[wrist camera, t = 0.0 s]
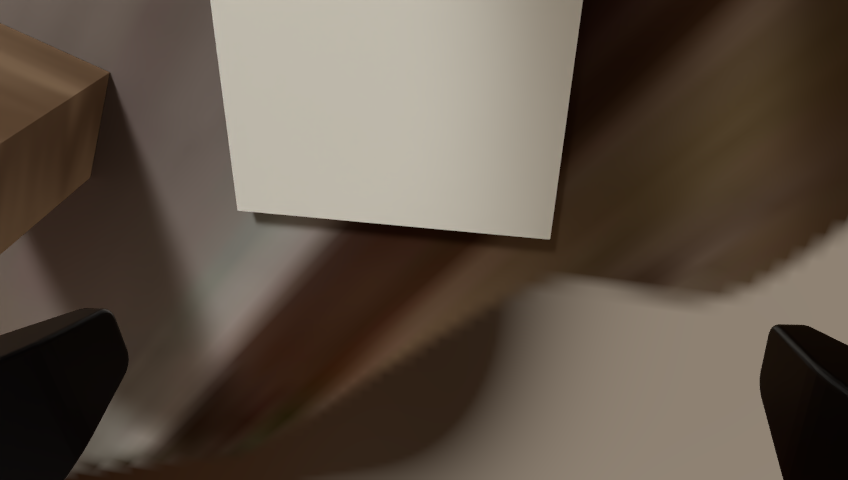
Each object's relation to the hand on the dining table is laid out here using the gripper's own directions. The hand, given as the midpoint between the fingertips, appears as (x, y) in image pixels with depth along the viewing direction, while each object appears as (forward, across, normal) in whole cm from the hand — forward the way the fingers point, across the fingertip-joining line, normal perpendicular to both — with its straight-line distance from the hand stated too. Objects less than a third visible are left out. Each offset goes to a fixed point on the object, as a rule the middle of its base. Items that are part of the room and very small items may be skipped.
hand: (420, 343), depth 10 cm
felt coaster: (+15, -3, -1) cm, 15 cm away
